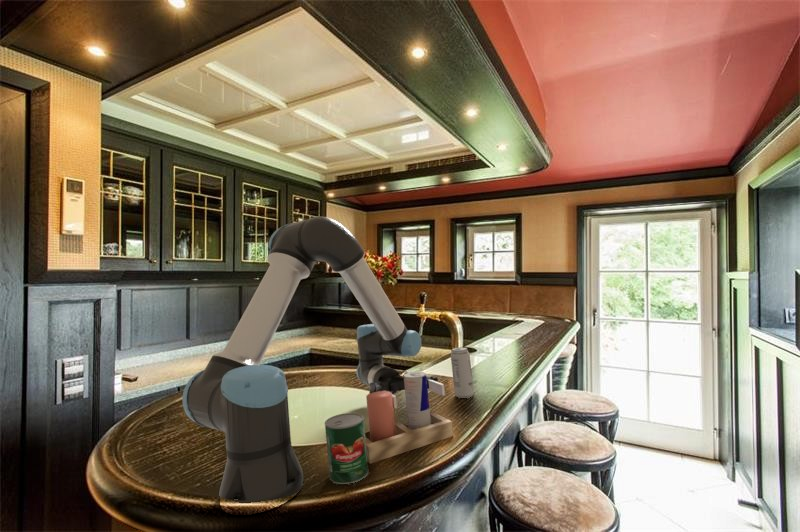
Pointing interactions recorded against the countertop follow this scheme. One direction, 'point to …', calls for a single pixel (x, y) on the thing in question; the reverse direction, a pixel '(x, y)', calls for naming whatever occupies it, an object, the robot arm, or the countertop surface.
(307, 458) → the countertop surface
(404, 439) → the holder
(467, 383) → the energy drink can
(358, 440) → the canned tomato
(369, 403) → the plug
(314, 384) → the countertop surface
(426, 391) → the beverage can
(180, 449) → the countertop surface
